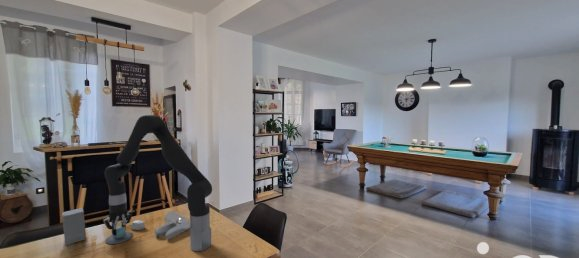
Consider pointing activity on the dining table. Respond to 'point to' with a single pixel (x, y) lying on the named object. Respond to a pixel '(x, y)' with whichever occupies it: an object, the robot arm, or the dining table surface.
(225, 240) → the dining table surface
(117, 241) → the slate coaster
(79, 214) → the skincare box
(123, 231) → the teal plug
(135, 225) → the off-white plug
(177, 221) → the chrome faucet
